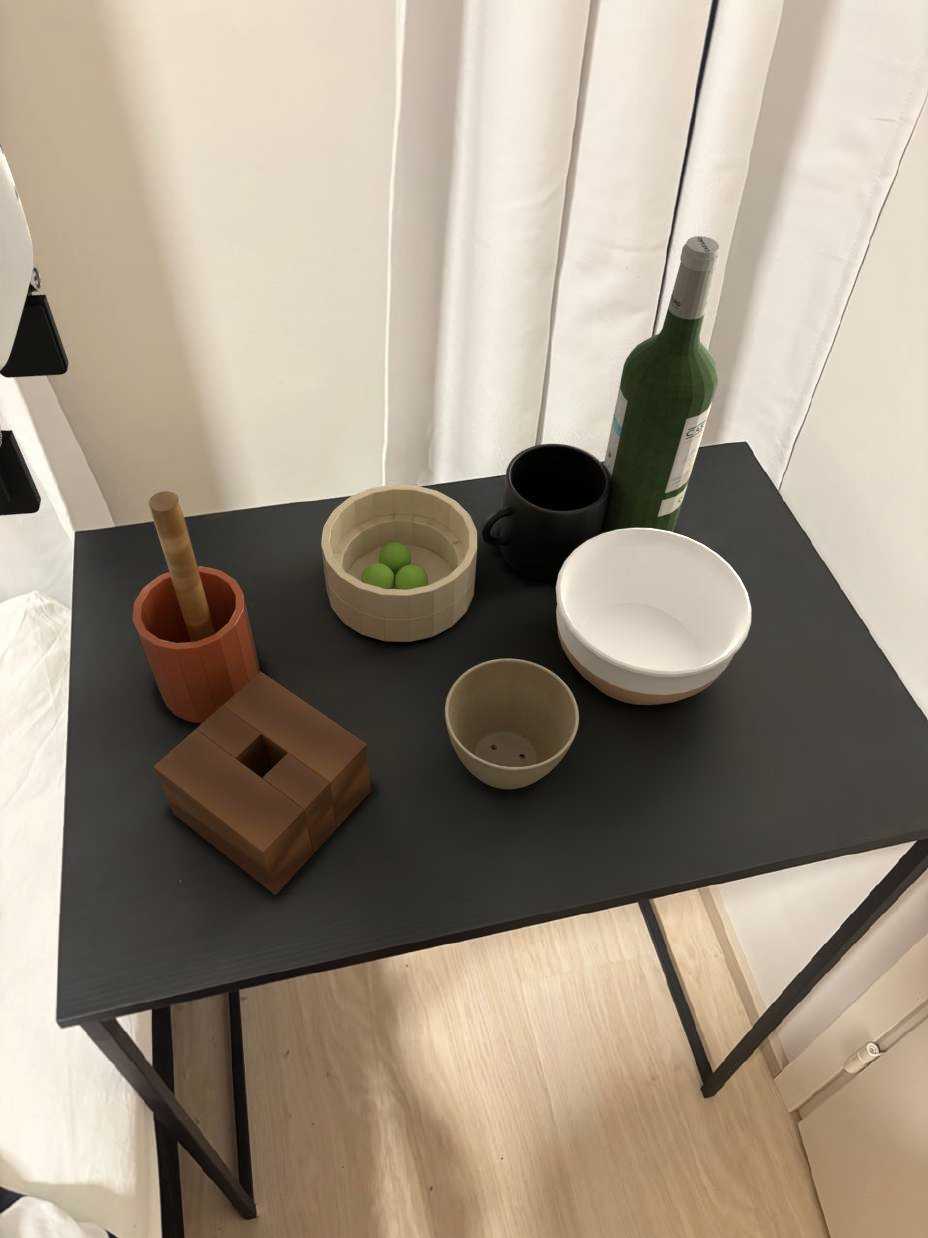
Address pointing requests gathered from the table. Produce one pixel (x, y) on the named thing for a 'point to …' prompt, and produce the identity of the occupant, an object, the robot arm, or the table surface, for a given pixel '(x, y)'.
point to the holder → (266, 780)
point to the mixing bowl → (435, 545)
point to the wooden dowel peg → (181, 564)
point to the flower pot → (510, 721)
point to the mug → (549, 508)
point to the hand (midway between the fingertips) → (20, 436)
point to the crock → (196, 645)
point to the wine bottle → (663, 405)
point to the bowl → (650, 614)
